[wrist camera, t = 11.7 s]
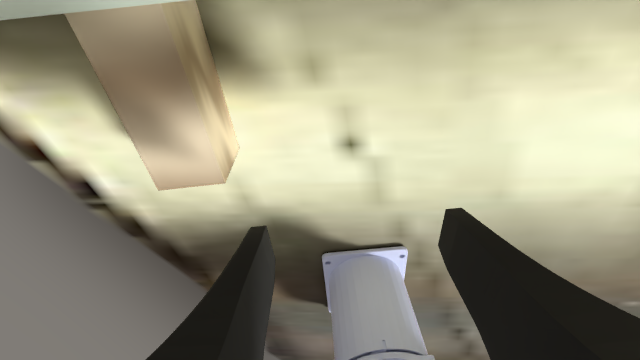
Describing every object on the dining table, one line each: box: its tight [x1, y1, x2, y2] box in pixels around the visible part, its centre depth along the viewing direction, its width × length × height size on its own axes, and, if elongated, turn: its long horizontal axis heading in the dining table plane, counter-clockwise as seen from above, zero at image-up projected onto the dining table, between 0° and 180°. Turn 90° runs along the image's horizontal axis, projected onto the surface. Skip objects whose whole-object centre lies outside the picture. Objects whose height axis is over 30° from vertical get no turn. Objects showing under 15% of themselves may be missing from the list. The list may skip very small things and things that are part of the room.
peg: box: [65, 0, 240, 190], centre depth 15 cm, size 12×4×5 cm, turn 6°
